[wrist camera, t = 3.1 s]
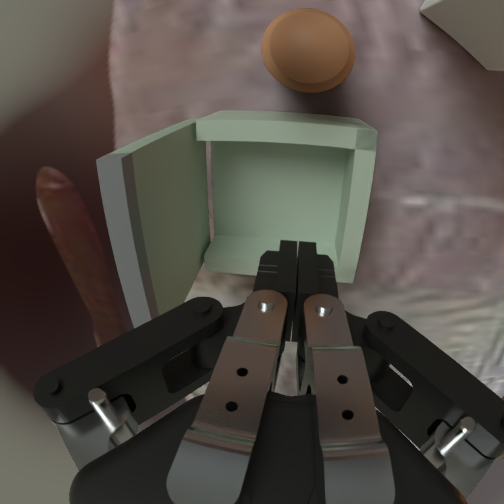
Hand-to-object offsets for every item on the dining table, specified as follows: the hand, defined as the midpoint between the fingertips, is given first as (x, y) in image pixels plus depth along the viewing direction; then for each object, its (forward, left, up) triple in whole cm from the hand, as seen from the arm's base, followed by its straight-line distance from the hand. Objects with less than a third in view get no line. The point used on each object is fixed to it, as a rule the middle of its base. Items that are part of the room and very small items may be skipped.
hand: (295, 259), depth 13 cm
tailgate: (+7, 0, -9) cm, 11 cm away
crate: (+1, 0, -12) cm, 12 cm away
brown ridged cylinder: (0, -9, -12) cm, 15 cm away
